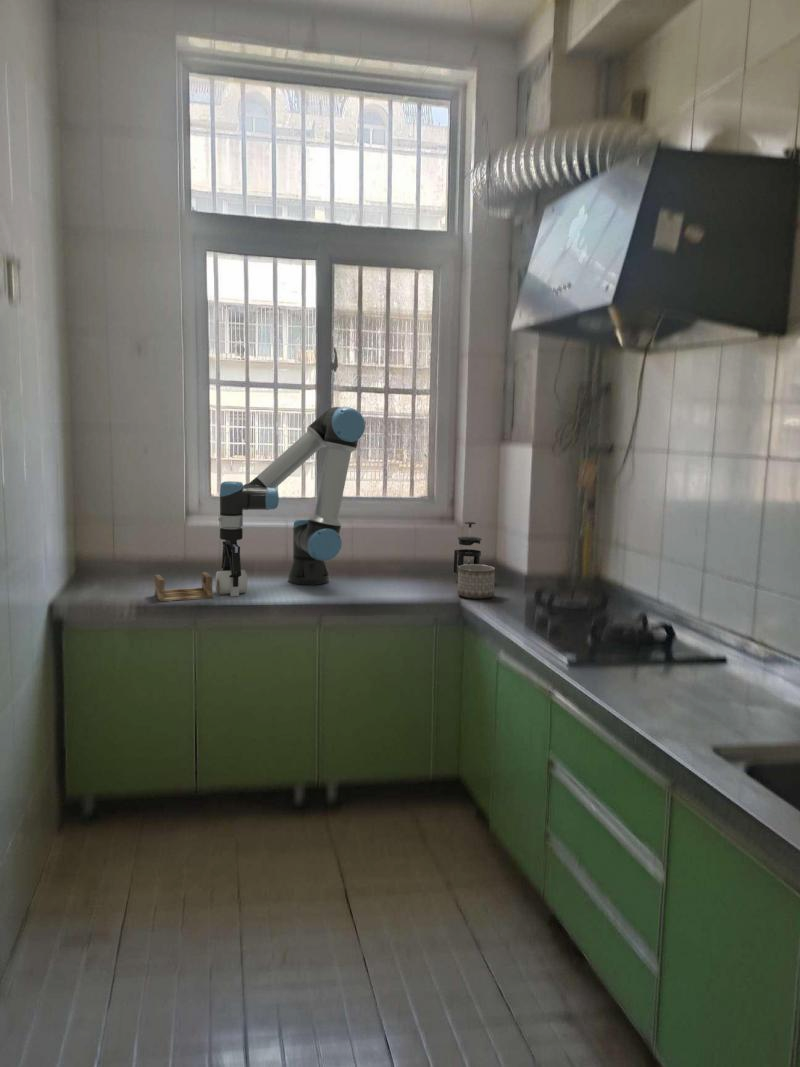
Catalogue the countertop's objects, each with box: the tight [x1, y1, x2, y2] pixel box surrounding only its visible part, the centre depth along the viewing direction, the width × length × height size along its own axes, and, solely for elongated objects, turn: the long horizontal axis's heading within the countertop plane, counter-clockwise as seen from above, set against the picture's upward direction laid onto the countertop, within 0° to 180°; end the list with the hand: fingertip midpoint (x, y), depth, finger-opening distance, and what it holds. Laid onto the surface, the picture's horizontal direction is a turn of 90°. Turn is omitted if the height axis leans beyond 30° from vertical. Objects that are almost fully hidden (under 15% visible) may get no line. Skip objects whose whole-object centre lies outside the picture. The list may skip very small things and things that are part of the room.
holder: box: [154, 571, 214, 602], centre depth 273 cm, size 17×11×7 cm, turn 116°
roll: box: [215, 569, 249, 596], centre depth 280 cm, size 9×8×8 cm
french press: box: [453, 521, 482, 584], centre depth 310 cm, size 12×9×23 cm
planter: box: [456, 563, 496, 599], centre depth 286 cm, size 13×13×10 cm
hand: (231, 592), depth 280 cm, fingers open, 9 cm apart
